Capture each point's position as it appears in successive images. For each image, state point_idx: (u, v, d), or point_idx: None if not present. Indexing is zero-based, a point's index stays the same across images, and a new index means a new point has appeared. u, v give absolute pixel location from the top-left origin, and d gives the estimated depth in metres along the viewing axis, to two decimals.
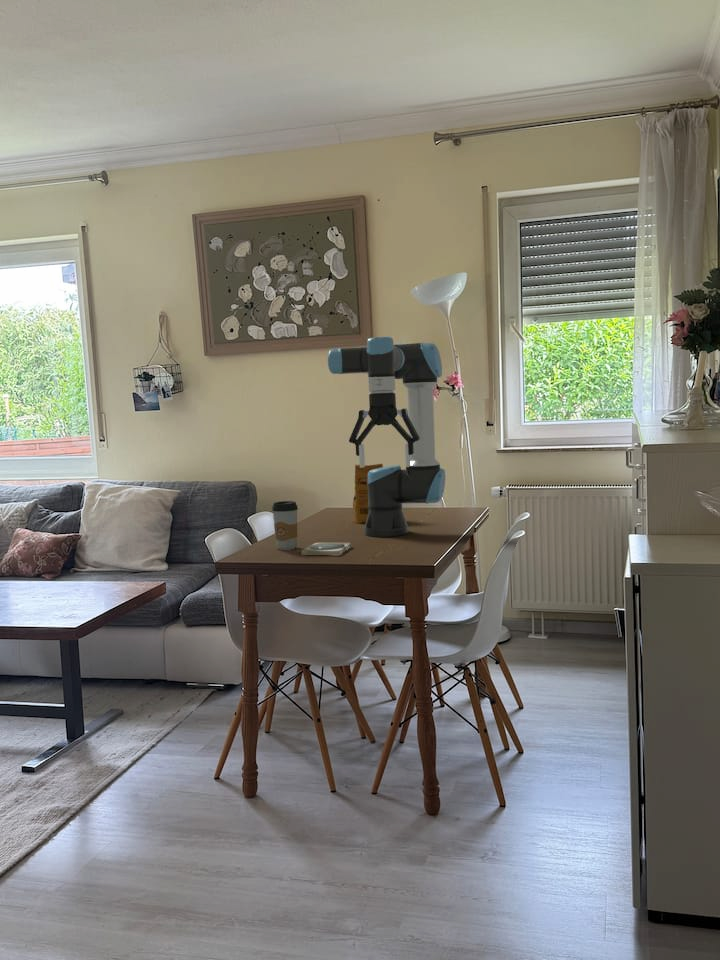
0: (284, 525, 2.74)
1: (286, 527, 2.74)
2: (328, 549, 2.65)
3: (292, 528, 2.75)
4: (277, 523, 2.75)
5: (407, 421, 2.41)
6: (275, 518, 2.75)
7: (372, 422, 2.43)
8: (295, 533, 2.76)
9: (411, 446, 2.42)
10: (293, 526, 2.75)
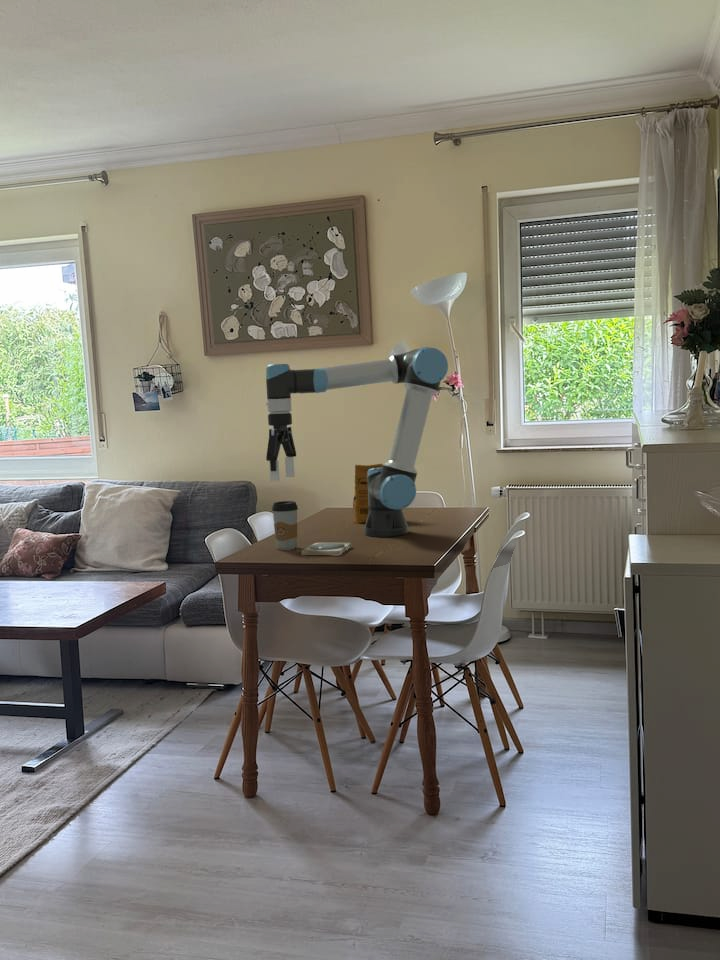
0: (284, 525, 2.74)
1: (286, 527, 2.74)
2: (328, 549, 2.65)
3: (292, 528, 2.75)
4: (277, 523, 2.75)
5: None
6: (275, 518, 2.75)
7: None
8: (295, 533, 2.76)
9: None
10: (293, 526, 2.75)
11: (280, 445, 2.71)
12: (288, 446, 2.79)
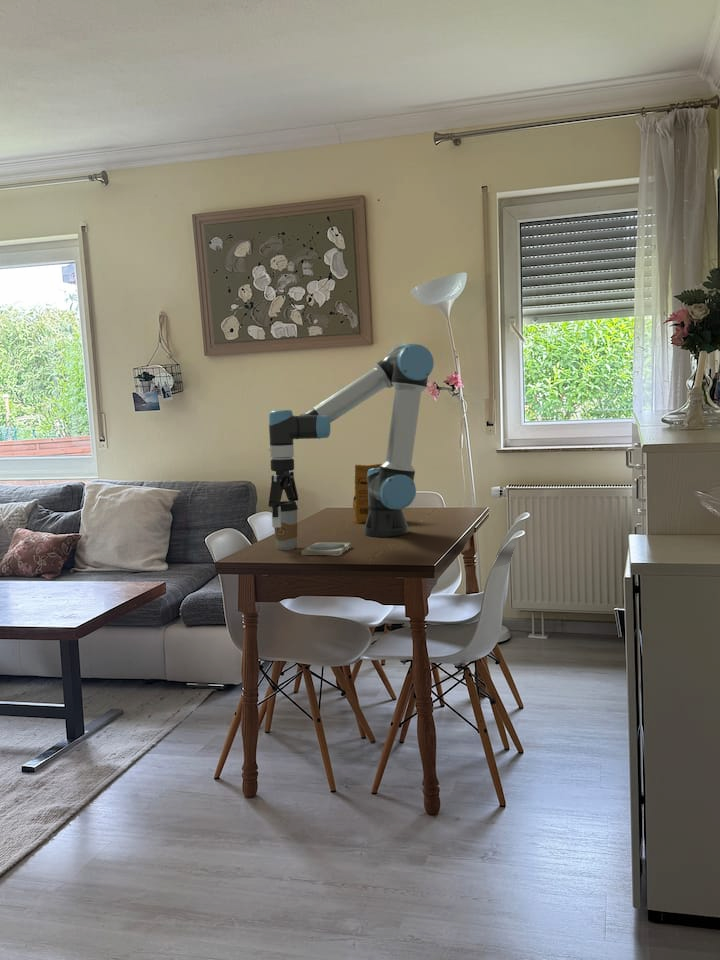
0: (284, 525, 2.74)
1: (286, 527, 2.74)
2: (328, 549, 2.65)
3: (292, 528, 2.75)
4: None
5: None
6: None
7: None
8: (295, 533, 2.76)
9: None
10: (293, 526, 2.75)
11: (282, 491, 2.72)
12: (290, 491, 2.80)
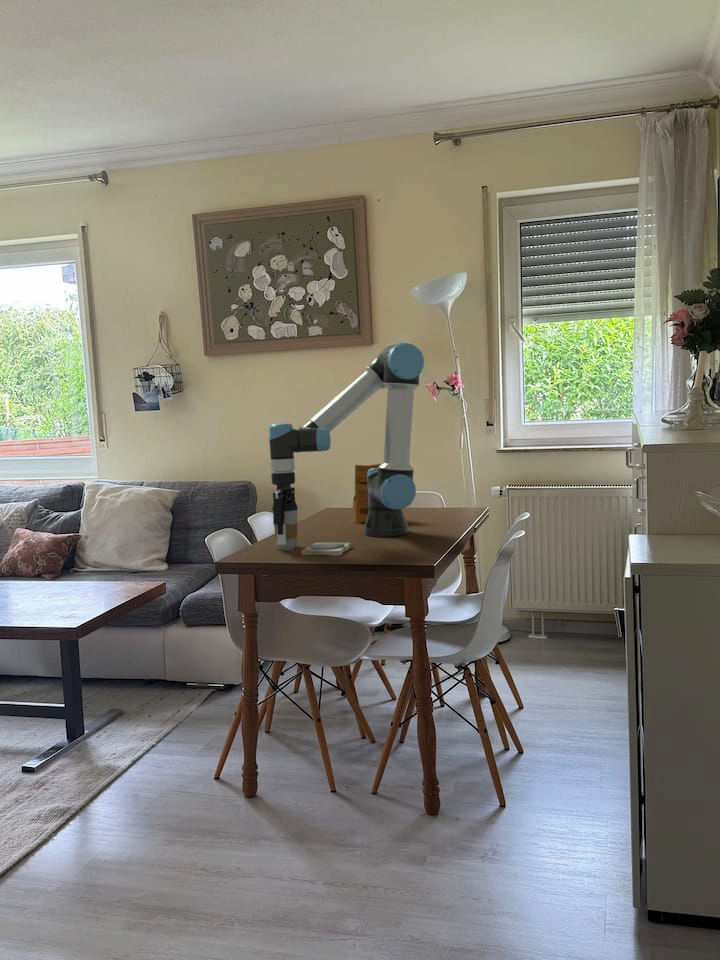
0: None
1: (286, 527, 2.74)
2: (328, 549, 2.65)
3: (292, 528, 2.75)
4: None
5: None
6: None
7: None
8: (295, 533, 2.76)
9: None
10: (293, 526, 2.75)
11: None
12: None
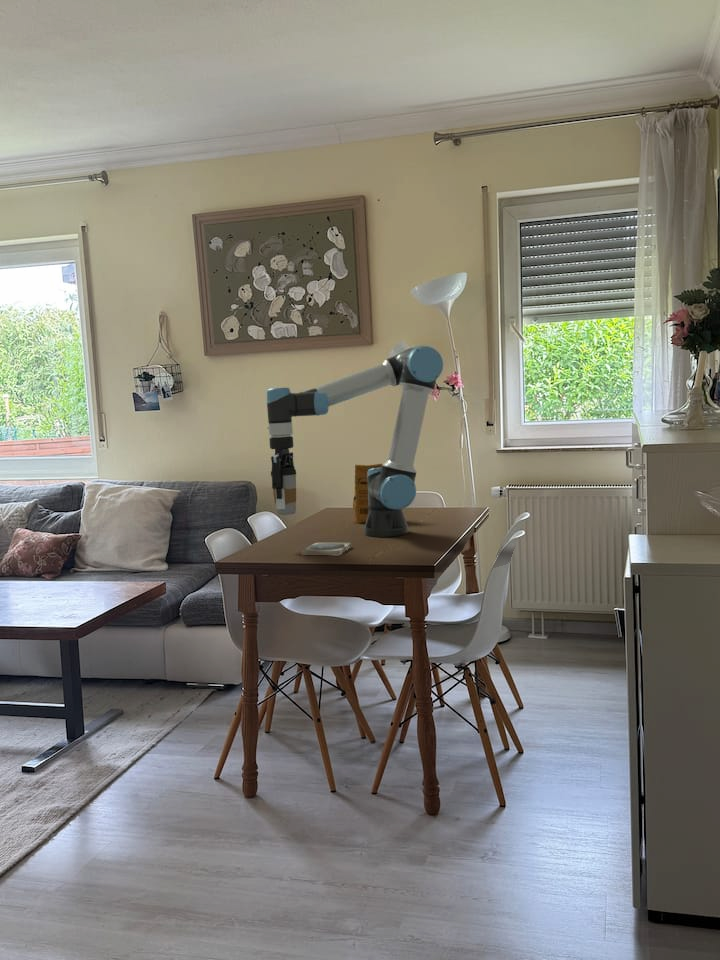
0: None
1: (285, 492, 2.73)
2: (328, 549, 2.65)
3: (290, 493, 2.74)
4: None
5: None
6: None
7: None
8: (294, 498, 2.75)
9: None
10: (292, 490, 2.74)
11: None
12: None
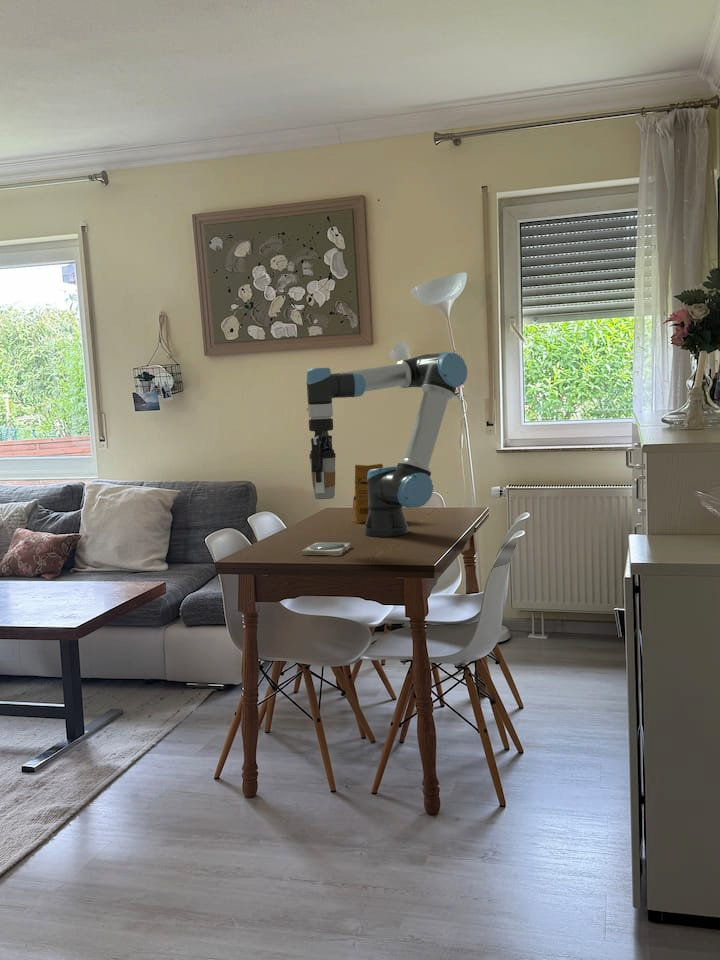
0: None
1: (325, 475, 2.64)
2: (328, 549, 2.65)
3: (330, 476, 2.65)
4: None
5: (312, 450, 2.61)
6: None
7: None
8: (333, 482, 2.67)
9: (315, 475, 2.63)
10: (331, 474, 2.65)
11: None
12: None
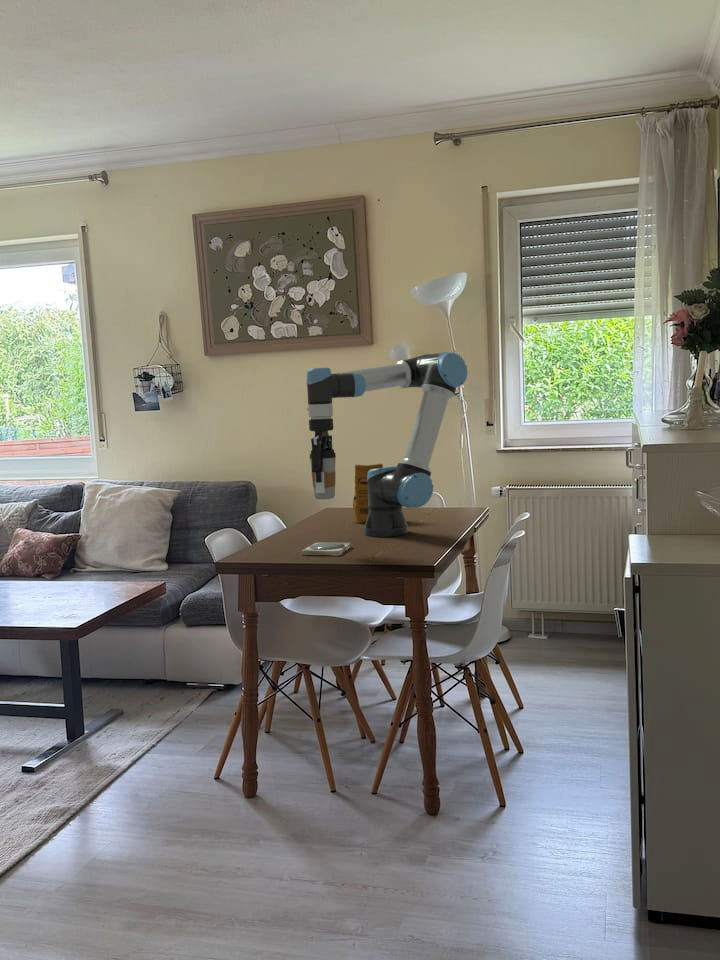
0: None
1: (325, 475, 2.64)
2: (328, 549, 2.65)
3: (330, 476, 2.65)
4: None
5: (312, 450, 2.61)
6: None
7: None
8: (333, 482, 2.67)
9: (316, 475, 2.63)
10: (331, 474, 2.65)
11: None
12: None
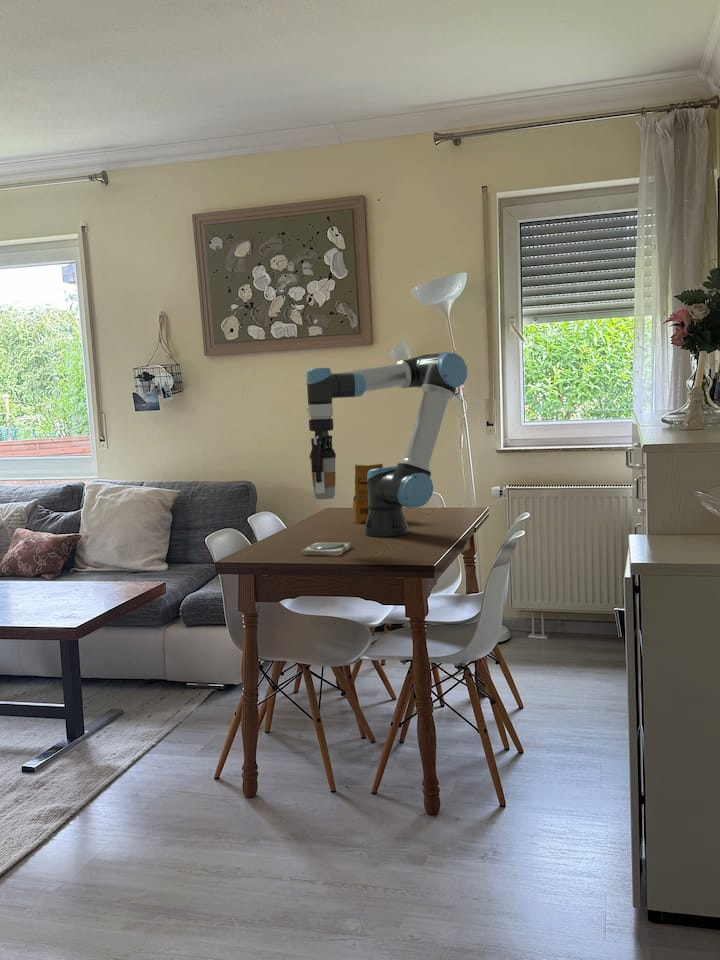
0: None
1: (325, 475, 2.64)
2: (328, 549, 2.65)
3: (330, 476, 2.65)
4: None
5: (312, 450, 2.61)
6: None
7: None
8: (333, 482, 2.67)
9: (316, 475, 2.63)
10: (331, 474, 2.65)
11: None
12: None
